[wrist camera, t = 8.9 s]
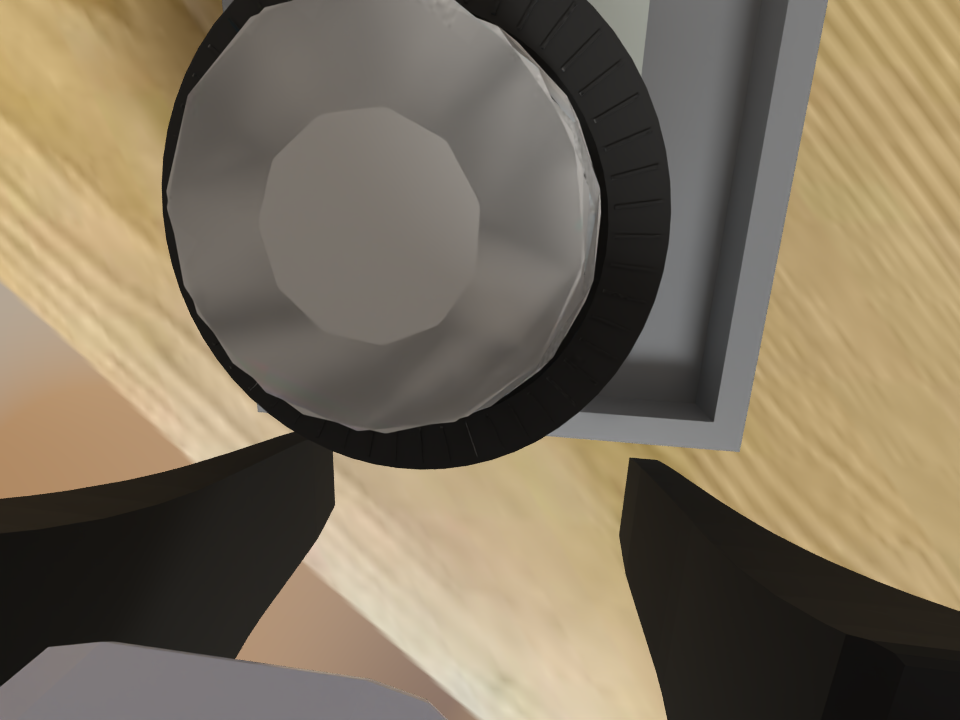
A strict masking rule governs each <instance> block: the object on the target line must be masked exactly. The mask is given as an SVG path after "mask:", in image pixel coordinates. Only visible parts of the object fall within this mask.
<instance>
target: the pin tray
mask: <svg viewBox="0 0 960 720" xmlns="http://www.w3.org/2000/svg"><path fill="white" fill-rule="evenodd" d="M233 1H234V0H222V6H223V12H224V11H225V10H226V9H227V8H228V6H229V5H230V4H231V3H232V2H233ZM587 1H588V2H589V3H590V4H591V5H593V7H594V8H595V9H596V10H597V11H598V13H599V14H600V15H601V16H602V17H603V18H604V20H605V21H606V22H607V23H608V24H609V26H610V27H611V28H612V29H613V30H614V32H615V33H616V35H617V36H618V38H619V39H620V41H621V42H622V44H623V46H624V47H625V49H626V50H627V52H628V53H629V55H630V56H631V58H632V59H633V61H634V63H635V65H636V67H637V69H638V71H639V73H640V75H641V77H642V79H643V81H644V83H645V85H646V87H647V90H648V92H649V95H650V98H651V100H652V103H653V106H654V109H655V111H656V114H657V117H658V120H659V124H660V128H661V132H662V136H663V140H664V144H665V148H666V153H667V161H668V168H669V175H670V187H671V222H670V235H669V245H668V251H667V256H666V261H665V267H664V272H663V276H662V279H661V282H660V286H659V289H658V293H657V296H656V299H655V302H654V305H653V307H652V309H651V312H650V314H649V317H648V319H647V321H646V324H645V326H644V328H643V330H642V332H641V334H640V336H639V338H638V339H637V341H636V343H635V345H634V347H633V349H632V350H631V352H630V354H629V355H628V356H627V358H626V359H625V361H624V362H623V364H622V365H621V367H620V368H619V370H618V371H617V372H616V374H615V375H614V376H613V377H612V379H611V380H610V381H609V382H608V383H607V384H606V386H605V387H604V388H603V389H602V390H601V391H600V393H599V394H598V395H597V396H596V397H595V398H594V399H593V400H592V401H591V402H589V403H588V404H587V405H586V406H585V407H584V408H583V409H582V410H581V411H580V412H579V413H578V414H576V415H575V416H574V417H572V418H571V419H570V420H568V421H567V422H566V423H564V424H563V425H562V426H561V427H559V428H558V429H556V430H554V431H553V432H551V433H550V434H548V435H546V436H554V437H566V438H578V439H590V440H602V441H614V442H626V443H638V444H650V445H662V446H674V447H686V448H699V449H711V450H723V451H735V452H740V447H741V441H742V436H743V431H744V426H745V421H746V416H747V411H748V406H749V401H750V396H751V390H752V385H753V380H754V375H755V370H756V365H757V360H758V355H759V350H760V344H761V339H762V334H763V329H764V324H765V319H766V314H767V309H768V304H769V299H770V293H771V288H772V283H773V278H774V273H775V268H776V263H777V258H778V253H779V247H780V242H781V237H782V232H783V227H784V222H785V217H786V212H787V207H788V202H789V196H790V191H791V186H792V181H793V176H794V171H795V166H796V161H797V156H798V150H799V145H800V140H801V135H802V130H803V125H804V120H805V115H806V110H807V105H808V99H809V94H810V89H811V84H812V79H813V74H814V69H815V64H816V59H817V53H818V48H819V43H820V38H821V33H822V28H823V23H824V18H825V13H826V8H827V2H828V0H587ZM257 408H258V412H265V413H267V412H266V411H265V410H264V409H263V408H262V407H261V406H259V405H258V404H257Z"/></svg>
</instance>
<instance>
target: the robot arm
mask: <svg viewBox="0 0 960 720" xmlns="http://www.w3.org/2000/svg"><path fill="white" fill-rule="evenodd" d="M334 506H335V494H334V470H333V451H331V450H329V449H327V448H324V447H322V446H320V445H318V444H316V443H314V442H312V441H310V440H308V439H306V438H304V437H303V436H301V435H299V434H298V433H296V432H292V433H289V434H285V435H282V436H279V437H276V438H273V439H270V440H267V441H264V442H261V443H258V444H255V445H252V446H249V447H246V448H243V449H240V450H237V451H234V452H231V453H227V454H224V455H221V456H217V457H214V458H211V459H208V460H204V461H201V462H198V463H195V464H191V465H188V466H184V467H181V468H177V469H173V470H169V471H165V472H162V473H157V474H153V475H149V476H145V477H140V478H135V479H131V480H126V481H121V482H115V483H109V484H104V485H98V486H92V487H86V488H80V489H75V490H70V491H63V492H55V493H47V494H40V495H32V496H23V497H14V498H4V499H0V720H448V719H447V718H446V717H444V715H443V714H442V713H440V712H439V711H438V710H437V709H436V708H435V707H434V706H433V705H432V704H431V703H430V702H429V701H428V700H427V699H425V698H422V697H419V696H417V695H414V694H411V693H408V692H405V691H403V690H400V689H397V688H394V687H392V686H389V685H386V684H383V683H381V682H378V681H375V680H372V679H369V678H362V677H355V676H348V675H341V674H333V673H327V672H320V671H314V670H306V669H299V668H292V667H286V666H279V665H271V664H265V663H258V662H251V661H244V660H237V659H235V658H236V657H237V655H238V653H239V651H240V650H241V648H242V646H243V645H244V643H245V641H246V639H247V638H248V636H249V635H250V633H251V632H252V630H253V629H254V627H255V626H256V624H257V623H258V621H259V619H260V618H261V617H262V615H263V614H264V612H265V611H266V610H267V608H268V607H269V606H270V604H271V603H272V601H273V600H274V599H275V597H276V596H277V594H278V593H279V592H280V590H281V589H282V588H283V586H284V585H285V584H286V582H287V581H288V579H289V578H290V577H291V575H292V574H293V573H294V571H295V570H296V568H297V567H298V566H299V564H300V563H301V561H302V560H303V559H304V557H305V556H306V554H307V553H308V552H309V550H310V549H311V547H312V546H313V545H314V543H315V542H316V540H317V539H318V537H319V535H320V533H321V531H322V529H323V528H324V526H325V524H326V522H327V520H328V518H329V516H330V514H331V512H332V510H333V508H334ZM619 537H620V543H621V550H622V556H623V562H624V567H625V573H626V577H627V580H628V583H629V587H630V590H631V593H632V596H633V600H634V603H635V606H636V609H637V613H638V616H639V619H640V622H641V625H642V628H643V632H644V635H645V638H646V641H647V644H648V647H649V651H650V654H651V657H652V660H653V663H654V666H655V670H656V673H657V677H658V681H659V684H660V688H661V692H662V696H663V701H664V706H665V710H666V715H667V720H960V611H957V610H954V609H951V608H948V607H946V606H943V605H940V604H937V603H934V602H931V601H928V600H926V599H923V598H920V597H917V596H914V595H911V594H909V593H906V592H903V591H901V590H898V589H896V588H893V587H890V586H888V585H885V584H883V583H880V582H877V581H875V580H873V579H870V578H868V577H866V576H863V575H861V574H858V573H856V572H854V571H851V570H849V569H847V568H844V567H842V566H840V565H837V564H835V563H833V562H830V561H828V560H826V559H824V558H822V557H820V556H817V555H815V554H813V553H811V552H809V551H807V550H805V549H803V548H801V547H799V546H797V545H795V544H793V543H791V542H789V541H787V540H785V539H783V538H781V537H780V536H778V535H776V534H774V533H772V532H770V531H768V530H767V529H765V528H763V527H761V526H760V525H758V524H756V523H755V522H753V521H751V520H750V519H748V518H746V517H745V516H743V515H741V514H740V513H738V512H736V511H735V510H733V509H731V508H730V507H728V506H727V505H725V504H724V503H722V502H720V501H719V500H717V499H716V498H714V497H713V496H711V495H710V494H708V493H707V492H705V491H704V490H702V489H701V488H700V487H698V486H697V485H695V484H694V483H692V482H691V481H689V480H688V479H686V478H685V477H684V476H682V475H681V474H679V473H678V472H676V471H675V470H673V469H672V468H670V467H669V466H667V465H665V464H664V463H662V462H660V461H658V460H651V459H639V458H629V466H628V473H627V481H626V488H625V496H624V503H623V510H622V518H621V525H620V533H619Z"/></svg>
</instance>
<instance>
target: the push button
mask: <svg viewBox="0 0 960 720" xmlns="http://www.w3.org/2000/svg"><path fill="white" fill-rule="evenodd" d="M162 204H163V218H164V225H165V233H166V240H167V245H168V249H169V253H170V258H171V262H172V266H173V269H174V273H175V276H176V279H177V282H178V285H179V288H180V291H181V293H182V296H183V298H184V300H185V303H186V305H187V307H188V310H189V312H190V315H191V317H192V318H193V320H194V322H195V324H196V326H197V328H198V330H199V331H200V333H201V335H202V337H203V339H204V340H205V342H206V343H207V345H208V346H209V348H210V349H211V351H212V352H213V354H214V355H215V357H216V359H217V360H218V361H219V362H220V364H221V365H222V366H223V367H224V369H225V370H226V371H227V373H228V374H229V375H230V376H231V378H232V379H233V380H234V381H235V382H236V383H237V384H238V385H239V386H240V387H241V388H242V389H243V390H244V391H245V393H246V394H247V395H248V396H249V397H250V398H251V399H253V400H254V401H255V402H256V403H257V404H258V405H259V406H261V407H262V408H263V409H264V410H265V411H266V412H267V413H269V414H270V415H271V416H273V417H274V418H275V419H277V420H278V421H280V422H281V423H282V424H284V425H285V426H286V427H288V428H289V429H291V430H293V431H294V432H296V433H298V434H299V435H301V436H303V437H304V438H306V439H308V440H310V441H312V442H314V443H316V444H318V445H320V446H322V447H324V448H327V449H329V450H331V451H334V452H336V453H339V454H342V455H345V456H347V457H350V458H353V459H357V460H361V461H364V462H368V463H372V464H376V465H383V466H389V467H395V468H406V469H446V468H454V467H461V466H468V465H473V464H477V463H481V462H485V461H489V460H493V459H496V458H498V457H501V456H504V455H507V454H510V453H513V452H515V451H517V450H519V449H522V448H524V447H526V446H528V445H530V444H532V443H534V442H536V441H538V440H540V439H541V438H543V437H545V436H546V435H548V434H550V433H551V432H553V431H554V430H556V429H558V428H559V427H561V426H562V425H563V424H564V423H566V422H567V421H568V420H570V419H571V418H572V417H574V416H575V415H576V414H578V413H579V412H580V411H581V410H582V409H583V408H584V407H585V406H586V405H587V404H588V403H589V402H591V401H592V400H593V399H594V398H595V397H596V396H597V395H598V394H599V393H600V391H601V390H602V389H603V388H604V387H605V386H606V384H607V383H608V382H609V381H610V380H611V379H612V377H613V376H614V375H615V374H616V372H617V371H618V370H619V368H620V367H621V365H622V364H623V362H624V361H625V359H626V358H627V356H628V355H629V354H630V352H631V350H632V349H633V347H634V345H635V343H636V341H637V339H638V338H639V336H640V334H641V332H642V330H643V328H644V326H645V324H646V321H647V319H648V317H649V314H650V312H651V309H652V307H653V305H654V302H655V299H656V296H657V293H658V289H659V286H660V282H661V279H662V276H663V272H664V267H665V261H666V256H667V251H668V245H669V235H670V222H671V187H670V175H669V168H668V161H667V153H666V148H665V144H664V140H663V136H662V132H661V128H660V124H659V120H658V117H657V114H656V111H655V109H654V106H653V103H652V100H651V98H650V95H649V92H648V90H647V87H646V85H645V83H644V81H643V79H642V77H641V75H640V73H639V71H638V69H637V67H636V65H635V63H634V61H633V59H632V58H631V56H630V55H629V53H628V52H627V50H626V49H625V47H624V46H623V44H622V42H621V41H620V39H619V38H618V36H617V35H616V33H615V32H614V30H613V29H612V28H611V27H610V26H609V24H608V23H607V22H606V21H605V20H604V18H603V17H602V16H601V15H600V14H599V13H598V11H597V10H596V9H595V8H594V7H593V5H591V4H590V3H589V2H588V1H587V0H234V1H233V2H232V3H231V4H230V5H229V6H228V8H227V9H226V10H225V11H224V12H223V14H222V15H221V16H220V17H219V19H218V20H217V21H216V22H215V23H214V25H213V26H212V28H211V29H210V31H209V32H208V34H207V36H206V37H205V39H204V40H203V42H202V43H201V45H200V46H199V48H198V50H197V52H196V54H195V56H194V58H193V60H192V62H191V64H190V66H189V68H188V70H187V72H186V74H185V76H184V79H183V81H182V84H181V87H180V89H179V92H178V95H177V97H176V100H175V103H174V107H173V111H172V115H171V119H170V122H169V126H168V131H167V137H166V143H165V150H164V156H163V172H162Z"/></svg>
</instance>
